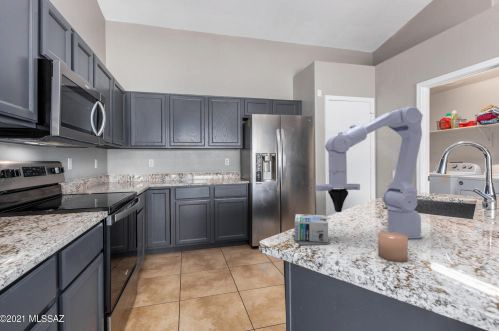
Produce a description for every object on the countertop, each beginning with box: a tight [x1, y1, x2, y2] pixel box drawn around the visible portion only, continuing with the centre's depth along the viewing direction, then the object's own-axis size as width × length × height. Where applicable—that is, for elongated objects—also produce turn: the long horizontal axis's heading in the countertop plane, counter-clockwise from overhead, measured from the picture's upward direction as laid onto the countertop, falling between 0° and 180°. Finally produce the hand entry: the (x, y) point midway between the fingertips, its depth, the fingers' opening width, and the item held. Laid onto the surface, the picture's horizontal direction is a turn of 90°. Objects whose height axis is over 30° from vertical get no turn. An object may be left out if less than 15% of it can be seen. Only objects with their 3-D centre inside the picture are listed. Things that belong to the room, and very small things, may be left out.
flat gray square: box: [291, 234, 331, 247], centre depth 81 cm, size 10×10×1 cm
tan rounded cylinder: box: [377, 231, 409, 263], centre depth 67 cm, size 7×7×6 cm
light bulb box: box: [293, 213, 329, 242], centre depth 84 cm, size 11×7×11 cm
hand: (338, 211), depth 82 cm, fingers closed
